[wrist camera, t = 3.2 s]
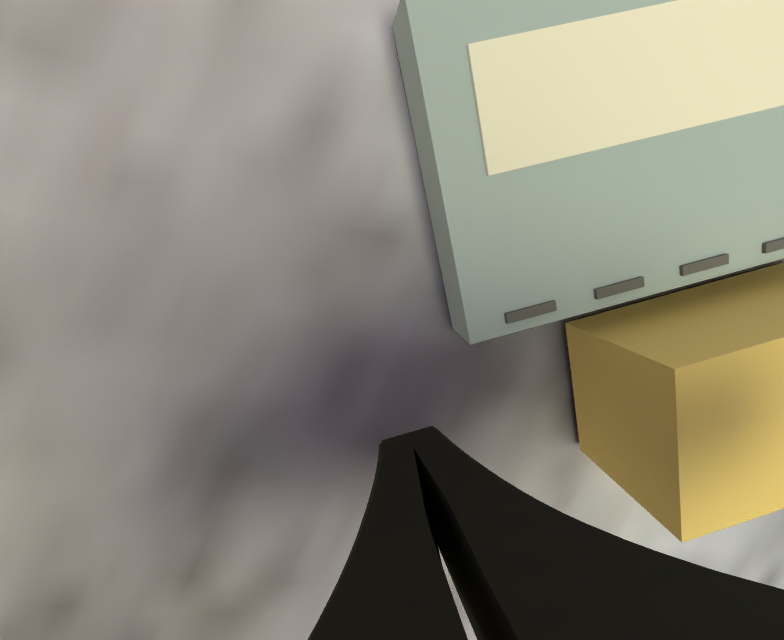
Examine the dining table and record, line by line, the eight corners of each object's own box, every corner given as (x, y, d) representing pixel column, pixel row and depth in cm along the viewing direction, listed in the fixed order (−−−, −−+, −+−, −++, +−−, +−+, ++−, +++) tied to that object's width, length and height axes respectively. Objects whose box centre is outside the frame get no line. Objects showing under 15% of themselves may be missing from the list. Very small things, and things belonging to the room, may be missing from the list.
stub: (580, 449, 12) (685, 545, 8) (565, 322, 10) (678, 371, 7) (789, 385, 12) (971, 450, 9) (794, 259, 11) (1004, 275, 8)
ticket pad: (452, 328, 10) (472, 345, 9) (392, 27, 8) (404, -14, 7) (908, 205, 11) (991, 202, 10) (942, -85, 10) (1050, -140, 8)
